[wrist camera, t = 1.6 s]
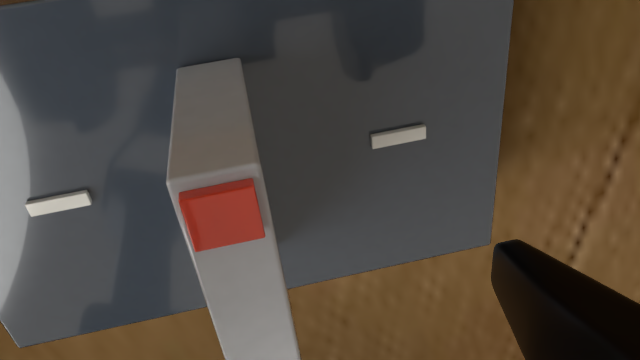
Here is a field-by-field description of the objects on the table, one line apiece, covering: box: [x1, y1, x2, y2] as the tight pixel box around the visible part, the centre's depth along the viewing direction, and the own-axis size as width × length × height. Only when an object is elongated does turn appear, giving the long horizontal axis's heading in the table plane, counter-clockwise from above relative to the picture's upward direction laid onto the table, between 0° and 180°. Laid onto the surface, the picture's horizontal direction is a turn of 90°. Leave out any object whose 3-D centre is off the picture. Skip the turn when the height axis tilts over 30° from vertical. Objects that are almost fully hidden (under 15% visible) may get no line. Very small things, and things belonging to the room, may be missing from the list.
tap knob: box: [166, 58, 302, 360], centre depth 11 cm, size 6×1×5 cm, turn 6°
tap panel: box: [0, 0, 514, 348], centre depth 14 cm, size 14×9×3 cm, turn 96°
